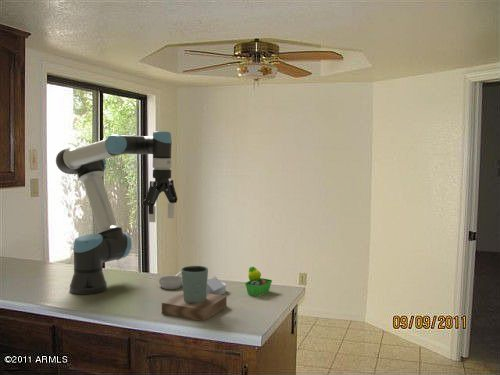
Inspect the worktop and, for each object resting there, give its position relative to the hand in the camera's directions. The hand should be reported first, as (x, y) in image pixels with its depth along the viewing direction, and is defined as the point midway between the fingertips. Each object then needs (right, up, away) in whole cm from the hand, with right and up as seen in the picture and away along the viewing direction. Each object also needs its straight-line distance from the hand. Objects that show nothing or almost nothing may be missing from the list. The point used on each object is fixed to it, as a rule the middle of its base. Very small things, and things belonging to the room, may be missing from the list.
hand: (161, 220), depth 195 cm
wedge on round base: (+21, -32, +6) cm, 39 cm away
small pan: (+2, -31, +19) cm, 36 cm away
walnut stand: (+16, -33, -16) cm, 40 cm away
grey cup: (+15, -29, -16) cm, 37 cm away
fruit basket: (+40, -32, +8) cm, 52 cm away
